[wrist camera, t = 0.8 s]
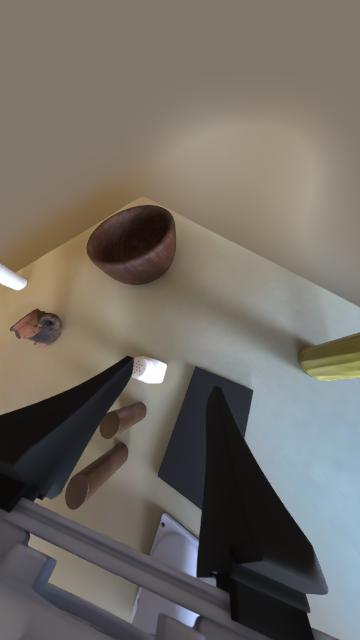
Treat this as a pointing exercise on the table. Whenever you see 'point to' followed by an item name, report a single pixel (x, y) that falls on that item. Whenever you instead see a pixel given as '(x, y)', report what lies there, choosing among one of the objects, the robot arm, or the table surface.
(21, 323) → the brown curled ring figurine
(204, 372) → the mat
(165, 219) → the wooden bowl
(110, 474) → the walnut dowel
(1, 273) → the drinking glass
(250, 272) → the table surface
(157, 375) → the pepper shaker
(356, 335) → the vase
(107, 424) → the walnut dowel
